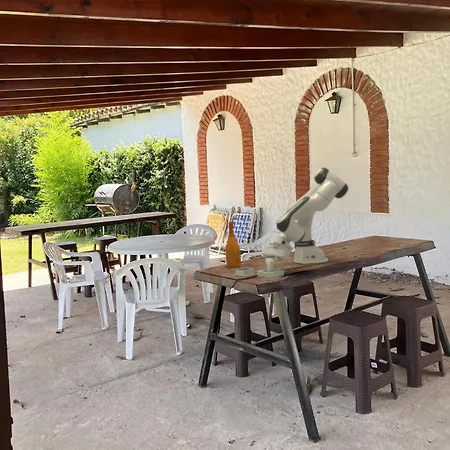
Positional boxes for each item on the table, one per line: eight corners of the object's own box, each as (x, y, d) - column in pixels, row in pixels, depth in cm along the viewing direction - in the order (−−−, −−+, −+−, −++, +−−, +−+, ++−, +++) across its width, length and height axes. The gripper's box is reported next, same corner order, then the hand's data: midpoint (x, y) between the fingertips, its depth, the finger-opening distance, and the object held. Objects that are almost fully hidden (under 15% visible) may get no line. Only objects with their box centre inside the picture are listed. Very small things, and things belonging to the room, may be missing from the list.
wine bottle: (237, 268, 332) (233, 222, 329) (223, 267, 337) (220, 222, 334) (243, 265, 340) (240, 220, 337) (230, 264, 345) (227, 220, 342)
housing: (246, 272, 313) (245, 267, 313) (254, 274, 307) (254, 268, 307) (235, 275, 309) (235, 269, 308) (244, 276, 302) (243, 271, 302)
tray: (271, 273, 308) (271, 267, 307) (284, 275, 299) (283, 269, 298) (257, 276, 301) (257, 271, 301) (269, 278, 292) (269, 273, 292)
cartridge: (274, 271, 301) (273, 254, 300) (273, 272, 297) (272, 255, 296) (267, 271, 302) (266, 254, 301) (266, 273, 298) (265, 256, 297)
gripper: (265, 240, 310) (254, 258, 306) (289, 242, 294) (277, 261, 289) (271, 246, 313) (260, 264, 309) (295, 248, 297) (283, 268, 292)
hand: (269, 263), depth 299 cm, fingers closed on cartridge, 4 cm apart
